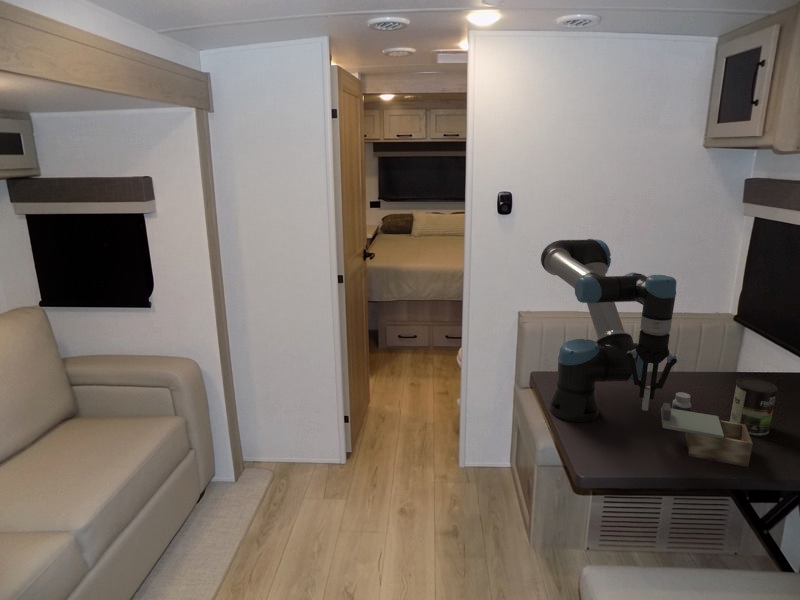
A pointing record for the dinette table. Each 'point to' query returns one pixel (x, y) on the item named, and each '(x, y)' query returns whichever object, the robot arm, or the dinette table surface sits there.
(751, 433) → the coffee can
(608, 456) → the dinette table surface
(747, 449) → the box
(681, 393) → the pill bottle
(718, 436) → the lid
